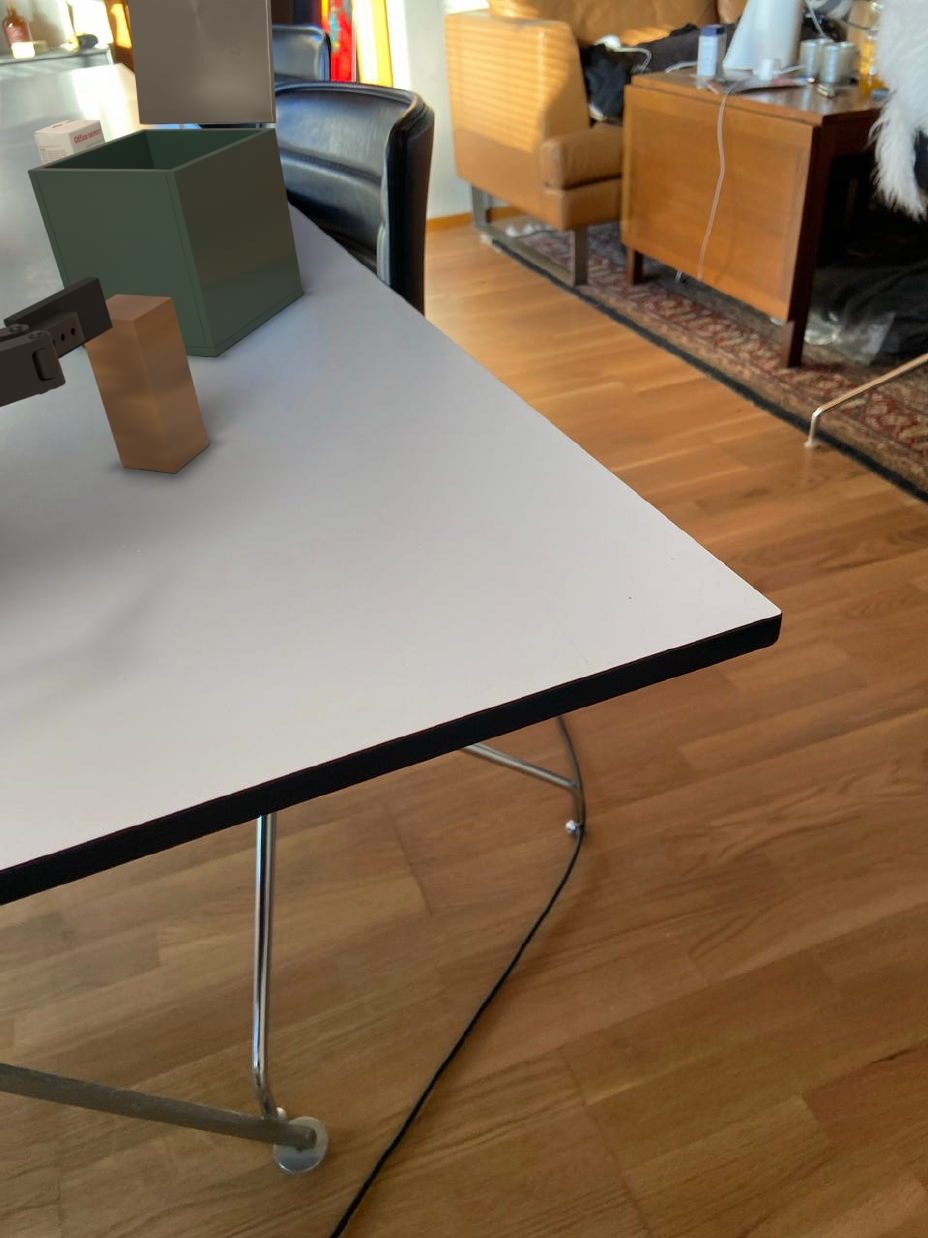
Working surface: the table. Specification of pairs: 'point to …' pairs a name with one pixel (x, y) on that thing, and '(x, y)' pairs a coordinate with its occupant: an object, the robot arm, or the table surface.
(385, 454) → the table surface
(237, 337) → the trash can
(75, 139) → the ink box
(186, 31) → the bin lid
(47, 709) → the table surface
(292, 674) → the table surface
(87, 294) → the robot arm
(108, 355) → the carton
